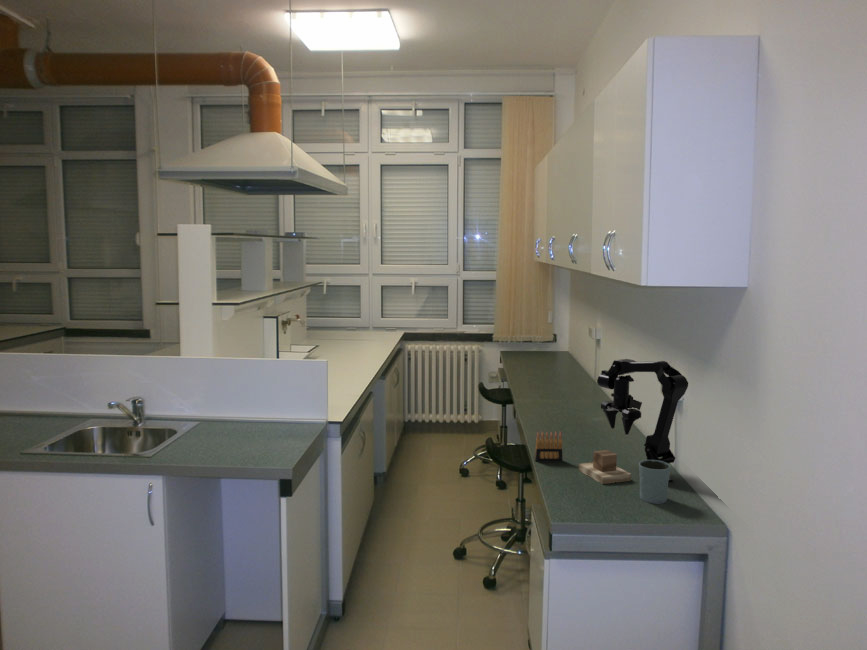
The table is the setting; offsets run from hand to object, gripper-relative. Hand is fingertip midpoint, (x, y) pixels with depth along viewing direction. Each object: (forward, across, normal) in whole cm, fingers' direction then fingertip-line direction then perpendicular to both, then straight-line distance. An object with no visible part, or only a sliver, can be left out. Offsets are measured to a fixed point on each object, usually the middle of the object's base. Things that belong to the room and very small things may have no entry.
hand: (619, 431), depth 262 cm
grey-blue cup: (+13, -36, +11) cm, 40 cm away
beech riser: (+13, -10, +13) cm, 21 cm away
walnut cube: (+10, -10, +13) cm, 19 cm away
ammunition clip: (+13, +12, +24) cm, 30 cm away
